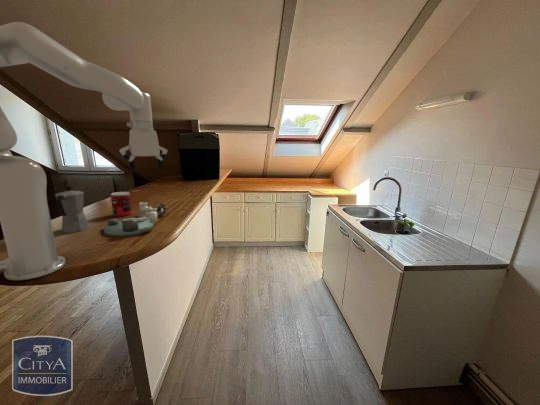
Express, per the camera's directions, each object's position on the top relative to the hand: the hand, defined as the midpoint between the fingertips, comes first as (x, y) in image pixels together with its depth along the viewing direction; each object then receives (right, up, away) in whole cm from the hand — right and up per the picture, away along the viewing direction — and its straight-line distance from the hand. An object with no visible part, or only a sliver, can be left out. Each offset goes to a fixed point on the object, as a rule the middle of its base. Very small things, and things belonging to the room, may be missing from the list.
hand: (146, 170), depth 99 cm
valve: (-9, -20, +23) cm, 31 cm away
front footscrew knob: (-3, -23, +1) cm, 23 cm away
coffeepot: (-30, -24, +1) cm, 39 cm away
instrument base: (-9, -24, +4) cm, 26 cm away
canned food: (-24, -19, +23) cm, 38 cm away
